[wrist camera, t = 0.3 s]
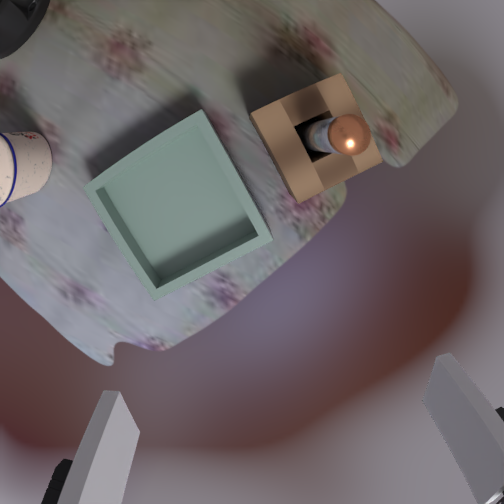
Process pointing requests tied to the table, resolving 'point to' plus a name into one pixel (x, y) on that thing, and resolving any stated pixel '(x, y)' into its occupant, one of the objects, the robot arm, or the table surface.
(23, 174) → the teacup with lid
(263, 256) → the table surface
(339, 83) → the block
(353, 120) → the pin
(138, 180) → the tray
